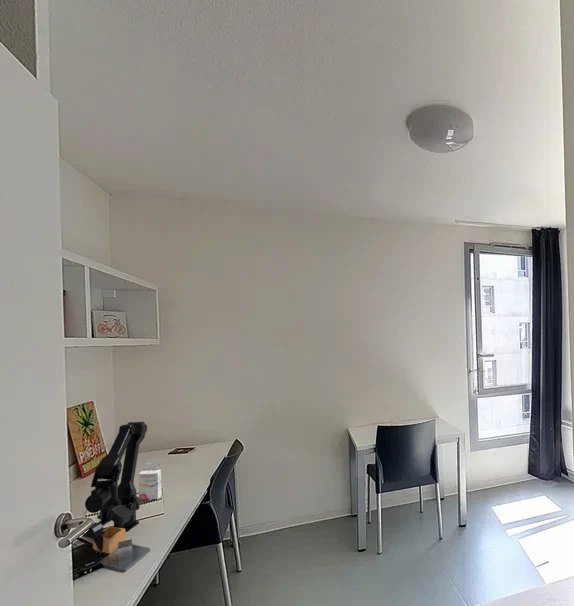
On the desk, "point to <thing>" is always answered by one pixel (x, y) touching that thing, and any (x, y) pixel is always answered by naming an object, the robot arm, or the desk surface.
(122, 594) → the desk surface
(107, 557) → the grey plate with tab
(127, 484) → the robot arm
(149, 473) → the ink cartridge box
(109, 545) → the tan open-top box
